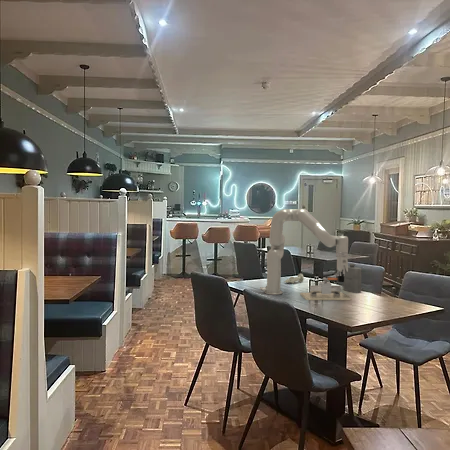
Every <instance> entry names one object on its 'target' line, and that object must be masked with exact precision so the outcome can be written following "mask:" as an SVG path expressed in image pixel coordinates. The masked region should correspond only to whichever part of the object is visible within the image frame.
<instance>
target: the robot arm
mask: <svg viewBox="0 0 450 450" xmlns="http://www.w3.org/2000/svg"><path fill="white" fill-rule="evenodd" d="M285 222H300V223H301V224H302V225H303V226H304V227H305V228H306V229H308V230H309V232H311V234H312V235H313V236H315V238H317V240H319V241H320V242H321V243H322V244H323V245H324V246H325V247H327V248H333V247H335V248H336V249H335V250H336V251H335V253H336V255H335V256H336V270H337V272H338V276H339V282H338V283H343V282H344V276H345V272H348V266H349V265H348V264H349V263H348V262H349V261H348V260H349V259H348V258H349V237H348V236H346V235H331V234H330V233H329V232H328V231H327V230H326V229H325V228H324V227H323V225H322V224H321V223H320V221H319V220H317V219H316V218H315V217H314V216H313V215H312V214H311V213H310V211H308V210H307V208H306V209H305V208H297V209H295V208H293V209H292V208H284V209H280V210H278V211H276V212H275V213H274V214H273V216H272V218H271V222H270V229H269V230H270V231H269V239H268V240H269V244H270V248H269V250H268V251H267V253H266V268H267V269H266V286H264V287H263V286H262V287H259V290H260V291H264V293H265V294H266V295H274V296H277V295H282V294H283V293H284V292H283V291H282V290H281V279H282V278H281V276H282V275H281V274H282V271H281V270H282V267H281V266H282V264H281V263H282V261H281V259H282V258H283V257H284V252H285V236H284V234H283V231H284V223H285Z"/></svg>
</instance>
